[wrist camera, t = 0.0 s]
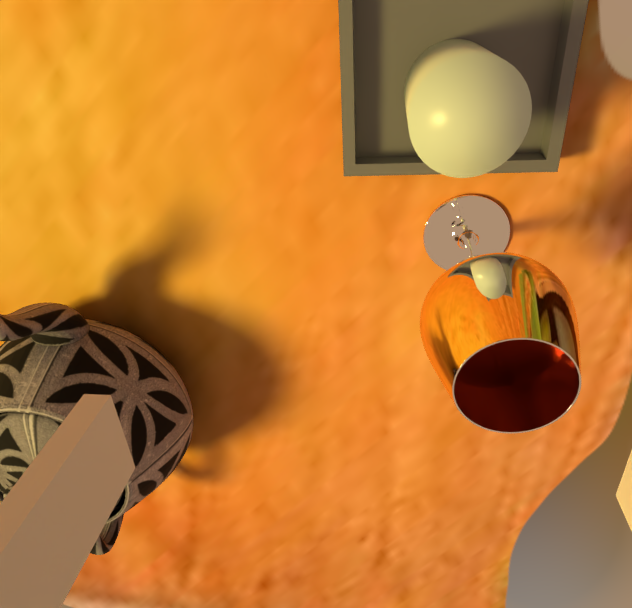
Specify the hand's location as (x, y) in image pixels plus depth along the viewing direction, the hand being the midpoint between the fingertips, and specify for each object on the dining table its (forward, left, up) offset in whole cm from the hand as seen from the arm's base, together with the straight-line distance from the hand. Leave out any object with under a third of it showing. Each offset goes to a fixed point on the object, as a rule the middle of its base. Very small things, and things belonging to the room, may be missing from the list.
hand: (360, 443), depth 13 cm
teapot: (+21, -26, -28) cm, 44 cm away
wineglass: (+6, +7, -28) cm, 30 cm away
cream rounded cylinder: (-4, +5, -27) cm, 28 cm away
